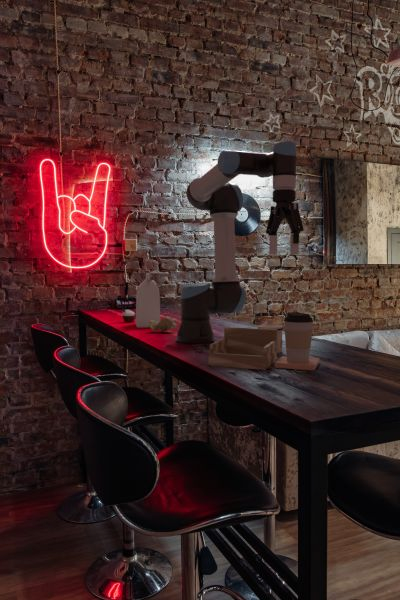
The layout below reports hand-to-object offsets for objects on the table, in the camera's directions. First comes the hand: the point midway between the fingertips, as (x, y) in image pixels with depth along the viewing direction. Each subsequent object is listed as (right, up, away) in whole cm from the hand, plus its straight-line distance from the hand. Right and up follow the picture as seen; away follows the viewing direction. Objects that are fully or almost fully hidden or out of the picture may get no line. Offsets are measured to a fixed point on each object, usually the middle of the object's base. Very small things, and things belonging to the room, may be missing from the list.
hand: (283, 254), depth 179 cm
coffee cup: (+3, -34, -11) cm, 36 cm away
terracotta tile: (+3, -36, -11) cm, 37 cm away
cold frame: (-14, -35, -6) cm, 38 cm away
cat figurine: (-45, -30, +64) cm, 84 cm away
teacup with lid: (-3, -34, +15) cm, 37 cm away
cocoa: (-66, -27, +103) cm, 125 cm away
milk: (-54, -28, +89) cm, 107 cm away
